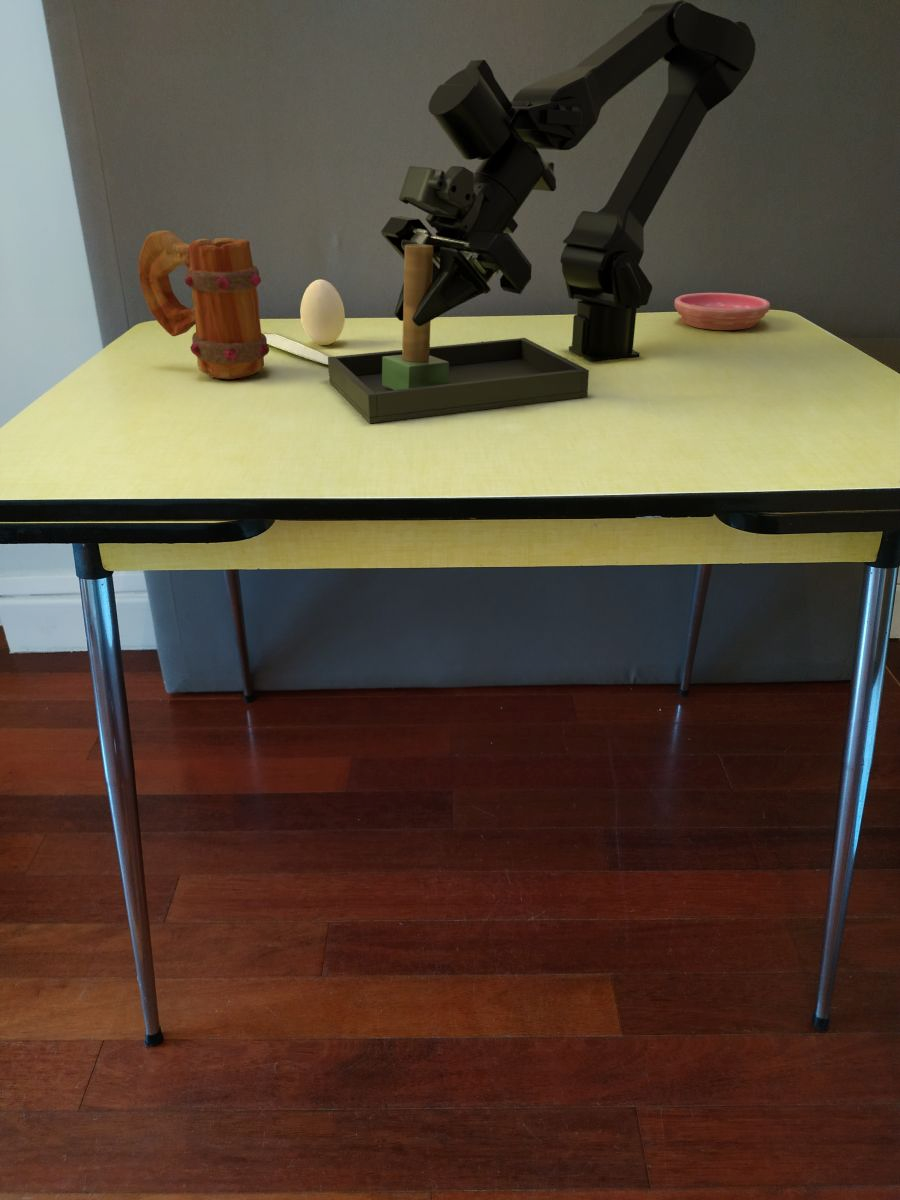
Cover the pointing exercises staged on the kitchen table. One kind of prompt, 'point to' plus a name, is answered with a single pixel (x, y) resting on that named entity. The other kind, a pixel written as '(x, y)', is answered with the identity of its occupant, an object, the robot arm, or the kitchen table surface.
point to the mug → (208, 300)
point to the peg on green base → (415, 329)
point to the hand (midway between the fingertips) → (406, 320)
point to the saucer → (721, 310)
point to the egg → (322, 312)
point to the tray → (461, 380)
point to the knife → (294, 347)
